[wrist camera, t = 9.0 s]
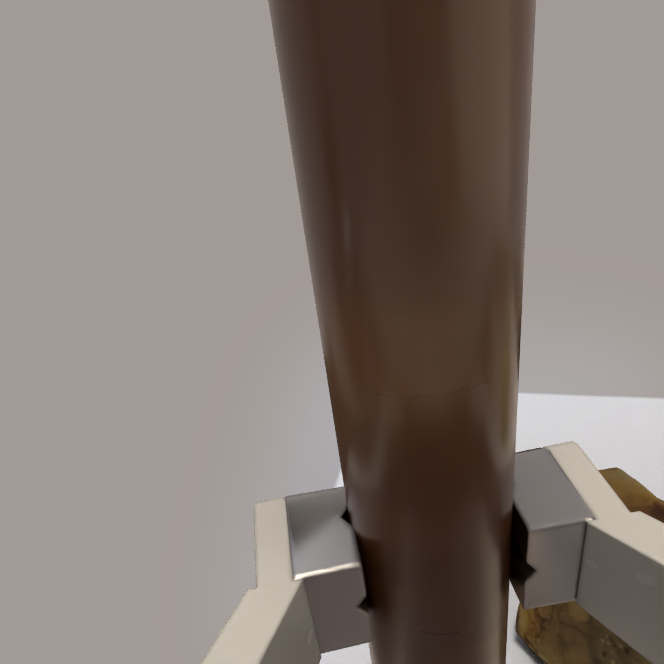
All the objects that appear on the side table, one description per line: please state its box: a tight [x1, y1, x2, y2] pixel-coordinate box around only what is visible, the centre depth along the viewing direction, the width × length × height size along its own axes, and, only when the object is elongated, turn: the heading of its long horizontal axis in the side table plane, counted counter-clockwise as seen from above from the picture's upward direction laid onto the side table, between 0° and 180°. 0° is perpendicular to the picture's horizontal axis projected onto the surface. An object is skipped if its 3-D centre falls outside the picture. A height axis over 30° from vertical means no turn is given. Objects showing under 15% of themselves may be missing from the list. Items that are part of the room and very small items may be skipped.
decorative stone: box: [515, 468, 664, 664], centre depth 23 cm, size 10×9×4 cm
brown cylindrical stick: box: [268, 0, 536, 664], centre depth 10 cm, size 2×2×24 cm
